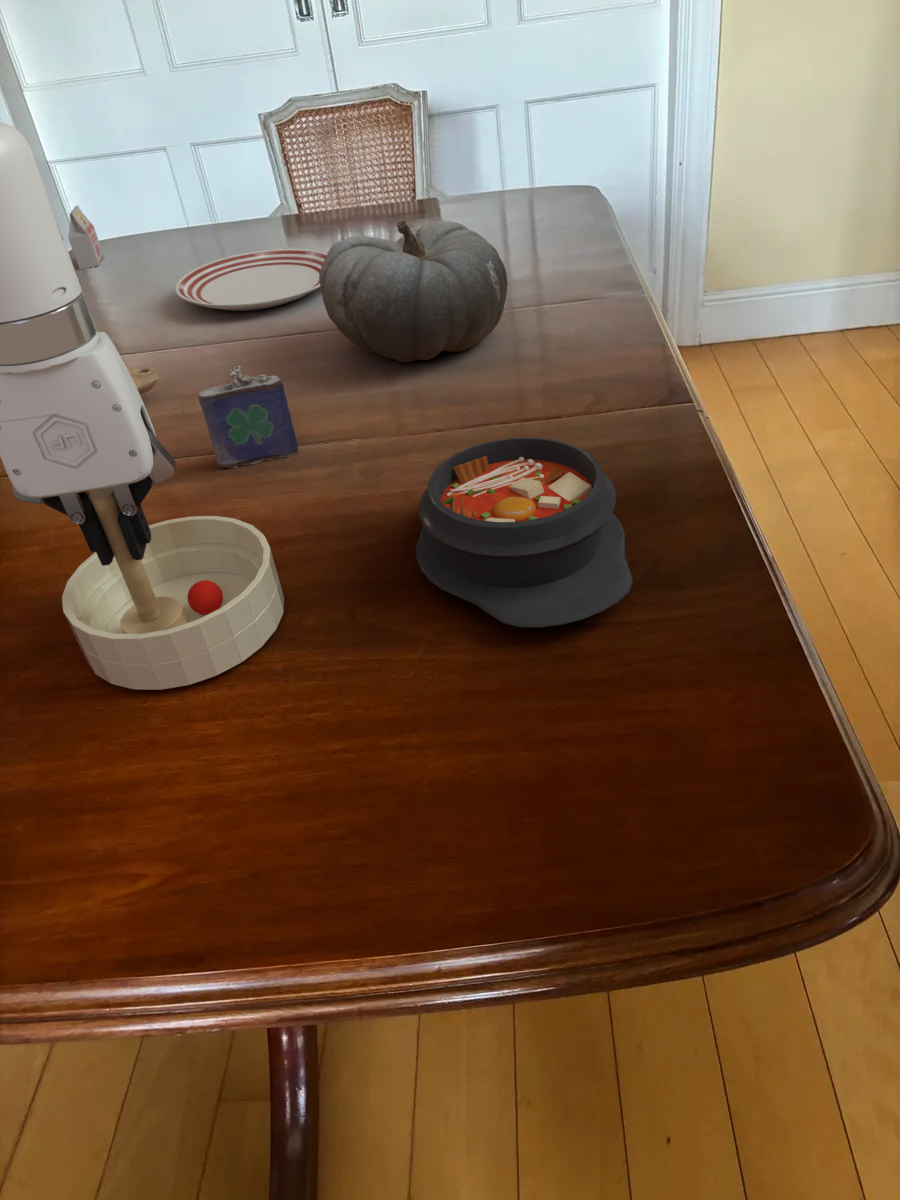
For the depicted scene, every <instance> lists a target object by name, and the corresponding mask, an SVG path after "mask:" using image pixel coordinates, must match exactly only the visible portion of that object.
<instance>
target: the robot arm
mask: <svg viewBox="0 0 900 1200" xmlns="http://www.w3.org/2000/svg"><path fill="white" fill-rule="evenodd" d="M67 247H68V246H67V245H66V241H65V239H64V236H63V234H62V230H61V228H60V225H59V223H58V220H57V217H56V214H55V212H54V209H53V206H52V203H51V200H50V198H49V194H48V192H47V189H46V187H45V184H44V181H43V178H42V176H41V173H40V170H39V168H38V164H37V162H36V159H35V156H34V153H33V151H32V148H31V147H30V144H29V142H28V140H27V139H26V138H25V136H24V135H23V133H22V132H20V131H19V129H17V128H16V127H14V126H12V125H10V124H8V123H4V122H0V459H1V462H2V465H3V467H4V470H5V472H6V474H7V476H8V479H9V481H10V483H11V484H12V490H13V491H12V492H13V493H12V495H13V497H14V499H16V500H17V501H20V502H24V503H25V502H27V503H32V504H38V505H42V504H45V506H47V507H49V508H51V509H53V510H55V511H57V512H59V513H61V514H63V515H65V516H67V517H68V520H69V521H70V522H71V523H72V524H75V525H78V527H79V528H80V530H81V533H82V535H83V537H84V539H85V543H86V544H87V546H88V549H89V551H90V552H91V553H95V552H96V553H97V555H98V558H99V560H100V562H101V565H102V566H105V565H110V563H112V561H113V558H114V554H113V552H112V549H111V547H110V545H109V542H108V540H107V537H106V535H105V533H104V530H103V528H102V525H101V523H100V521H99V518H98V516H97V513H96V511H95V509H94V506H93V504H92V501H91V499H90V494H91V493H90V491H95V490H97V489H103V488H109V487H110V488H112V489H113V492H114V494H115V497H116V500H117V502H118V505H119V507H118V509H119V511H120V513H119V516H118V524H119V526H120V529H121V531H122V534H123V536H124V539H125V541H126V544H127V546H128V549H129V551H130V554H131V556H132V559H135V560H141V559H143V557H144V553H145V549H146V545H147V543H150V541H151V531H150V528H149V523H148V520H147V518H146V515H145V513H144V510H143V507H142V503H143V501H144V500H145V498H146V497H147V495H148V494H149V492H150V491H151V489H152V488H153V487H155V486H158V485H159V484H161V483H163V482H165V481H166V480H168V479H171V478H172V477H173V476H174V475H175V473H176V469H177V462H176V459H174V458H173V456H172V455H171V454H170V453H169V452H168V450H167V449H166V448H165V447H164V445H163V444H162V443H161V442H160V441H159V440H158V438H157V435H156V434H157V433H156V430H155V428H154V425H153V423H152V420H151V417H150V415H149V412H148V410H147V408H146V406H145V403H144V401H143V398H142V396H141V395H140V394H139V392H138V389H137V387H136V385H135V383H134V381H133V379H132V377H131V375H130V373H129V371H128V369H127V367H128V366H126V364H125V362H124V360H123V358H122V356H121V354H120V352H119V351H118V349H117V347H116V346H115V344H114V342H113V341H112V339H111V338H110V336H109V334H107V333H106V332H105V331H97V327H96V323H95V321H94V319H93V316H92V314H91V311H90V307H89V305H88V303H87V300H86V296H85V295H84V291H83V290H82V287H81V283H80V281H79V278H78V275H77V273H76V271H75V270H76V269H75V267H74V264H73V261H72V259H71V256H70V253H69V251H68V248H67Z"/></svg>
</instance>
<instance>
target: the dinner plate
mask: <svg viewBox="0 0 900 1200" xmlns="http://www.w3.org/2000/svg"><path fill="white" fill-rule="evenodd" d="M327 254H328V252H326V251H321V250H318V249H309V248H272V249H263V250H262V249H261V250H257V251H255V250H254V251H248V252H244V253H237V254H233V255H228V256H225V257H221V258H218V259H215V260H211V261H208V262H206V263H203V264H201V265H199V266H197V267H195V268H193V269H192V270H190V271H188V272H187V273H185V274H184V275H182V277H180V278H179V279H178V280H177V282H176V283H175V286H174V291H175V294H176V296H177V297H179V298H180V299H182V300H183V301H185V302H188V303H191V304H194V305H196V306H199V307H205V308H209V309H217V310H223V311H231V312H248V311H249V312H250V311H258V310H265V309H270V308H276V307H280V306H282V304H283V305H286V304H289V303H292V302H295V301H297V300H299V299H301V297H302V298H304V297H305V296H307V295H308V294H310V293H312V292H314V291H315V290H318V289H319V288H321V286H320V281H319V274H320V270H321V267H322V264H323V262H324V260H325V258H326V256H327ZM306 294H307V295H306ZM296 299H297V300H296ZM294 300H295V301H294ZM291 301H292V302H291ZM288 302H289V303H288ZM285 303H286V304H285Z"/></svg>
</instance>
